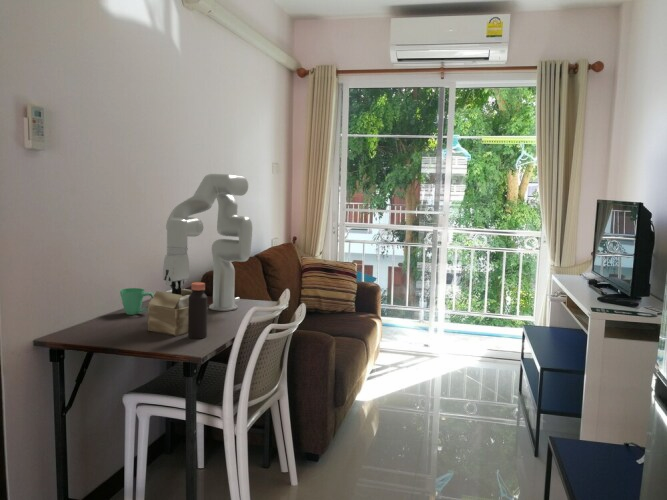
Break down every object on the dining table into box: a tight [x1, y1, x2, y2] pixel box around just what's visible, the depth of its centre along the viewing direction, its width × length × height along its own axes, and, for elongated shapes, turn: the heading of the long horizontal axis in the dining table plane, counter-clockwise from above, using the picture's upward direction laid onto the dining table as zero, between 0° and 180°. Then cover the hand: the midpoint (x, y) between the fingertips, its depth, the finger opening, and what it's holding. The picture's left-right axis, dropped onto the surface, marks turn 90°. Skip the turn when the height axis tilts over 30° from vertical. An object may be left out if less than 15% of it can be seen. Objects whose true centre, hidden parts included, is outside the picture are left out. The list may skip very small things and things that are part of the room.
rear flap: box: [181, 288, 192, 296], centre depth 219 cm, size 6×12×1 cm
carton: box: [147, 294, 191, 337], centre depth 214 cm, size 16×15×13 cm
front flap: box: [148, 290, 182, 309], centre depth 208 cm, size 6×12×1 cm
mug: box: [119, 287, 155, 316], centre depth 236 cm, size 15×10×10 cm
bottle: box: [187, 281, 208, 340], centre depth 205 cm, size 7×7×20 cm
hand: (176, 298), depth 213 cm, fingers closed
